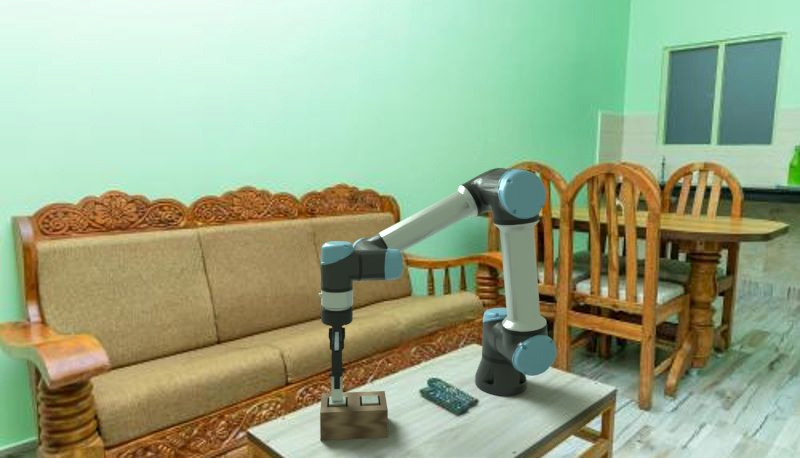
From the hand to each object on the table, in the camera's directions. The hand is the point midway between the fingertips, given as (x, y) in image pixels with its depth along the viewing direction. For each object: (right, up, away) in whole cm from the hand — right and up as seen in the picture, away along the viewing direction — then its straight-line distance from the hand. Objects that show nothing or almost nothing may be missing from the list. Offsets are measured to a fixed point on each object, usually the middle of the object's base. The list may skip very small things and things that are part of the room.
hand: (337, 398), depth 128 cm
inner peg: (+8, -7, +2) cm, 11 cm away
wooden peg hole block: (+4, -8, +2) cm, 9 cm away
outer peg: (0, -6, +1) cm, 7 cm away
